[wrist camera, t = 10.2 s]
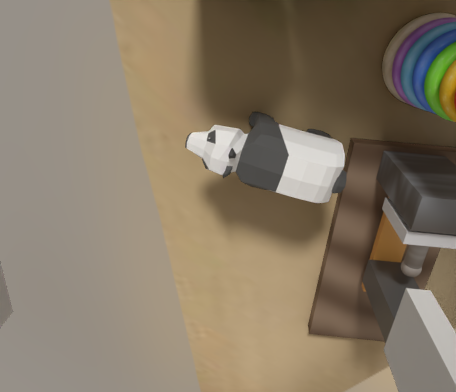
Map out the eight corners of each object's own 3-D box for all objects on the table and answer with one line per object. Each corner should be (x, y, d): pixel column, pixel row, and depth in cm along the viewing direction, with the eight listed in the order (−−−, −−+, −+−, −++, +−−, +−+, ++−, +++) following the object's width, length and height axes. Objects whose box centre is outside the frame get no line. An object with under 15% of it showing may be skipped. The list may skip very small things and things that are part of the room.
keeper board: (350, 138, 39) (384, 187, 29) (470, 148, 39) (546, 202, 29) (308, 324, 51) (321, 406, 41) (399, 334, 51) (434, 418, 41)
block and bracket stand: (376, 184, 39) (411, 238, 30) (436, 189, 39) (488, 245, 30) (348, 284, 45) (371, 354, 36) (400, 289, 45) (435, 361, 36)
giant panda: (342, 132, 39) (366, 169, 31) (322, 179, 42) (339, 226, 33) (202, 93, 38) (187, 120, 30) (191, 144, 41) (173, 182, 32)
